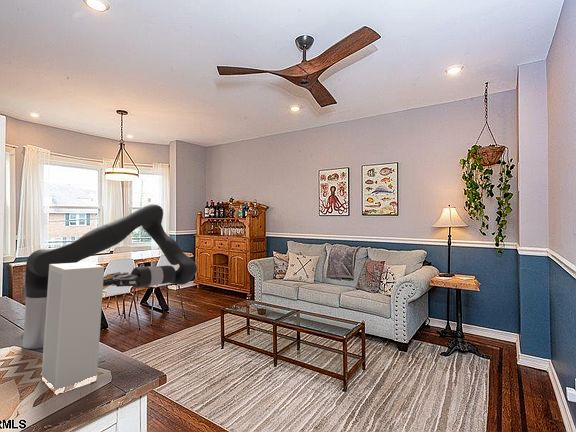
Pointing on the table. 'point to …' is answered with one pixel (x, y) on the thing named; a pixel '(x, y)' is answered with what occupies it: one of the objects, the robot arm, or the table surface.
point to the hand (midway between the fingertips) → (97, 282)
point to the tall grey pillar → (72, 323)
